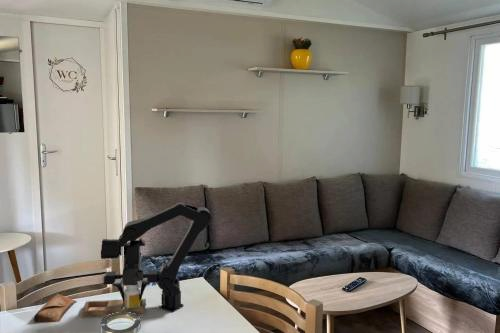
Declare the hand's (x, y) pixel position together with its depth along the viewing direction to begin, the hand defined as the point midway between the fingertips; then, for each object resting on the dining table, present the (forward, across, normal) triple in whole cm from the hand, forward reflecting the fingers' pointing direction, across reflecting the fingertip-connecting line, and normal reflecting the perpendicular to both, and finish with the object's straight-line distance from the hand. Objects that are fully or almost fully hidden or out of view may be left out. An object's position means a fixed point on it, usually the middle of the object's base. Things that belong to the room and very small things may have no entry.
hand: (132, 300), depth 157 cm
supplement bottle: (+4, 0, 0) cm, 4 cm away
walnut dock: (+4, -6, 0) cm, 7 cm away
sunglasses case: (+4, -26, +2) cm, 27 cm away
